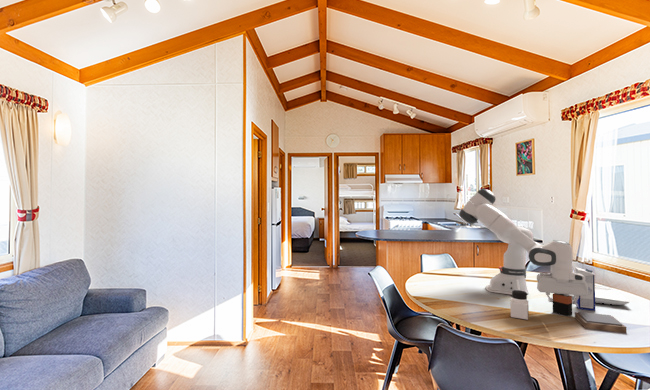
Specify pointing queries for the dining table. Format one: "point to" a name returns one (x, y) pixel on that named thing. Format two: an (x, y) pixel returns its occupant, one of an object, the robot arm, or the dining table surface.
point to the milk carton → (588, 300)
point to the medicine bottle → (519, 304)
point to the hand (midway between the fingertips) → (562, 302)
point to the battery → (562, 304)
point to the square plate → (608, 296)
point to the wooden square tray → (600, 322)
